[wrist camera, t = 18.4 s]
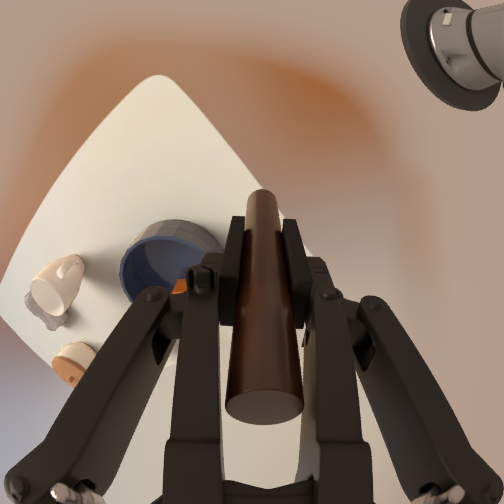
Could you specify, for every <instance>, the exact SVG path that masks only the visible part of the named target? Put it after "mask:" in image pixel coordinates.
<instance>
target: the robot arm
mask: <svg viewBox="0 0 504 504" xmlns="http://www.w3.org/2000/svg"><path fill="white" fill-rule="evenodd" d="M426 35H427V41H428V45H429V48H430V51H431V53H432V55H433V57H434V59H435V61H436V63H437V65H438V66H439V68H440V69H441V70H442V72H443V73H444V74H445V75H446V76H447V77H448V78H449V79H450V80H451V81H452V82H454V83H455V84H456V85H458V86H460V87H462V88H464V89H469V90H482V89H485V88H487V87H489V86H491V85H494V84H496V83H498V82H500V81H502V83H503V88H504V3H503V4H498V5H494V6H489V7H485V8H480V9H477V10H468V9H462V8H456V7H444V8H441V9H438V10H436V11H434V12H433V13H432V14H431V15H430V16H429V18H428V21H427V26H426ZM244 229H245V216H232V220H231V224H230V229H229V233H228V237H227V242H226V246H225V250H224V253H217V252H207V253H206V254H205V255H204V256H203V257H202V259H201V262H200V264H196V265H193V266H191V267H189V268H188V269H187V270H186V272H185V273H186V284H187V290H186V291H184V292H181V293H176V294H169V292H168V290H167V289H165V288H163V287H160V286H152V287H148V288H146V289H144V290H143V291H142V292H141V293H140V294H139V295H138V296H137V298H136V299H135V301H134V302H133V303H132V305H131V306H130V307H129V309H128V310H127V312H126V313H125V314H124V316H123V317H122V318H121V320H120V321H119V323H118V324H117V326H116V327H115V328H114V330H113V331H112V333H111V334H110V336H109V337H108V338H107V340H106V341H105V343H104V344H103V346H102V347H101V349H100V350H99V352H98V353H97V355H96V356H95V358H94V359H93V361H92V362H91V364H90V365H89V367H88V368H87V370H86V371H85V373H84V374H83V376H82V378H81V379H80V381H79V382H78V384H77V385H76V387H75V389H74V390H73V392H72V394H71V395H70V397H69V398H68V400H67V402H66V403H65V405H64V407H63V408H62V410H61V412H60V413H59V415H58V417H57V418H56V420H55V422H54V424H53V425H52V427H51V429H50V431H49V432H48V434H47V436H46V438H45V440H44V441H43V442H42V443H41V444H39V445H38V446H37V447H36V448H35V449H34V450H33V451H31V452H30V453H29V454H28V455H27V456H25V457H24V458H23V459H22V460H21V461H20V462H18V463H17V464H16V465H15V466H14V467H13V468H11V469H10V470H9V471H8V473H7V474H6V475H5V479H4V487H5V491H6V493H7V495H8V497H9V499H10V500H11V501H12V502H13V503H15V504H106V503H105V501H104V499H103V498H102V497H103V495H104V494H105V493H106V491H107V490H108V488H109V487H110V485H111V484H112V482H113V480H114V478H115V476H116V474H117V472H118V469H119V467H120V464H121V462H122V460H123V457H124V455H125V452H126V450H127V448H128V446H129V443H130V441H131V439H132V436H133V434H134V432H135V429H136V427H137V425H138V423H139V420H140V418H141V416H142V414H143V411H144V409H145V407H146V404H147V403H148V400H149V398H150V396H151V394H152V391H153V389H154V387H155V385H156V383H157V381H158V378H159V376H160V374H161V372H162V370H163V368H164V366H165V363H166V361H167V359H168V357H169V355H170V353H171V351H172V349H173V346H174V344H175V342H176V339H180V341H179V349H178V358H177V367H176V376H175V385H174V396H173V407H172V420H171V433H170V438H169V440H167V442H166V445H165V452H164V469H163V470H164V471H163V495H161V496H160V497H159V498H157V499H156V500H155V501H153V502H152V503H151V504H376V503H374V502H373V474H372V456H371V448H370V446H369V444H368V443H367V442H365V441H364V440H363V438H362V429H361V417H360V407H359V397H358V388H357V380H356V372H357V374H358V377H359V379H360V381H361V384H362V386H363V389H364V391H365V393H366V396H367V398H368V401H369V403H370V406H371V408H372V411H373V413H374V416H375V418H376V421H377V423H378V426H379V428H380V431H381V433H382V436H383V439H384V441H385V444H386V446H387V449H388V452H389V455H390V457H391V460H392V463H393V465H394V468H395V471H396V473H397V477H398V479H399V482H400V484H401V486H402V489H403V490H404V492H405V494H406V496H407V497H408V499H409V500H410V501H411V504H498V503H499V501H500V500H501V498H502V495H503V490H504V487H503V482H502V480H501V478H500V477H499V476H498V475H497V474H496V473H495V472H494V470H493V469H492V468H490V466H489V465H487V463H486V462H485V461H484V460H483V459H482V458H481V457H480V456H479V455H478V454H477V453H476V452H475V451H474V450H473V449H472V448H471V446H470V444H469V441H468V439H467V438H466V435H465V433H464V431H463V429H462V428H461V425H460V423H459V422H458V420H457V418H456V416H455V414H454V412H453V410H452V408H451V406H450V404H449V403H448V401H447V399H446V397H445V395H444V394H443V392H442V390H441V388H440V387H439V385H438V383H437V381H436V380H435V378H434V376H433V375H432V373H431V371H430V370H429V368H428V366H427V365H426V363H425V361H424V360H423V358H422V356H421V355H420V353H419V351H418V350H417V348H416V347H415V345H414V344H413V342H412V340H411V339H410V337H409V336H408V334H407V333H406V331H405V330H404V328H403V327H402V325H401V324H400V322H399V321H398V319H397V318H396V316H395V315H394V313H393V312H392V310H391V309H390V307H389V306H388V305H387V303H386V302H385V301H384V300H383V299H381V298H379V297H376V296H369V295H368V296H365V297H363V298H362V299H361V301H360V303H359V302H354V301H350V300H347V299H345V298H343V294H342V293H341V291H339V290H338V289H337V288H335V287H334V285H333V282H332V279H331V276H330V274H329V271H328V269H327V266H326V263H325V262H324V261H323V260H322V259H321V258H320V257H307V256H306V253H305V250H304V246H303V243H302V239H301V236H300V232H299V229H298V226H297V222H296V219H283V228H282V238H283V244H284V250H285V257H286V263H287V270H288V277H289V284H290V291H291V298H292V305H293V312H294V319H295V327H296V329H303V327H304V322H305V324H306V330H305V334H304V338H303V342H302V347H304V368H303V394H304V403H305V406H304V409H303V411H302V418H301V435H300V437H301V438H300V451H299V463H298V470H297V473H296V477H295V482H294V483H293V484H289V485H285V486H281V487H277V488H273V489H263V488H259V487H255V486H251V485H247V484H243V483H239V482H235V481H231V480H225V473H224V458H223V441H222V419H221V389H220V347H219V322H220V325H222V326H233V323H234V314H235V305H236V299H237V293H238V284H239V275H240V266H241V257H242V248H243V239H244ZM355 370H356V372H355Z"/></svg>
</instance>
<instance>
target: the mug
mask: <svg viewBox="0 0 504 504" xmlns="http://www.w3.org/2000/svg"><path fill="white" fill-rule="evenodd" d="M84 269H85V266H84V263H83V261H82V260H81V259H80V258H79V257H78V256H76V255H73V254H72V255H70V256H67V257H63V258H60V259H57V260H54V261H52V262H50V263H49V264H47V265H46V266H45V267H44V268H43V269H42V270H41V271H40V272H39V273H38V274H37V275H36V276H35V277H34V278H33V280H32V281H31V285H30V288H31V293H32V296H33V298H34V300H35V301H36V303H37V304H38V305H39V306H40V307H41V308H42V309H43V310H44V311H45V312H47V313H49V314H51V315H53V316H60V315H62V314H63V313H64V312H65V311H66V310H67V308H68V307H69V306H70V304H71V303H72V302H73V300H74V299H75V297H76V296H77V294H78V292H79V289H80V285H81V281H82V277H83V273H84Z"/></svg>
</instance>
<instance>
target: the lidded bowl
mask: <svg viewBox="0 0 504 504" xmlns="http://www.w3.org/2000/svg"><path fill="white" fill-rule="evenodd" d="M95 356H96V353H95V351H94V350H93V349H92V348H91V347H89V346H88V345H86V344H84V343H82V342H76V343H70V344H67V345H65V346H64V347H63V348H62V349H61V350H60V351H59V352H58V354H57V355H56V357H55V358H54V359H53V361H52V367H53V369H54V371H55V372H56V373H57V375H58V376H59V377H60V378H61V379H62V380H64V381H65V382H66V383H68V384H69V385H71V386H72V387H74V388H75V387H76V385H77V384H78V382H79V381H80V379H81V378H82V376H83V374H84V373H85V371H86V370H87V368H88V367H89V365H90V364H91V362H92V361H93V359H94V358H95Z"/></svg>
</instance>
